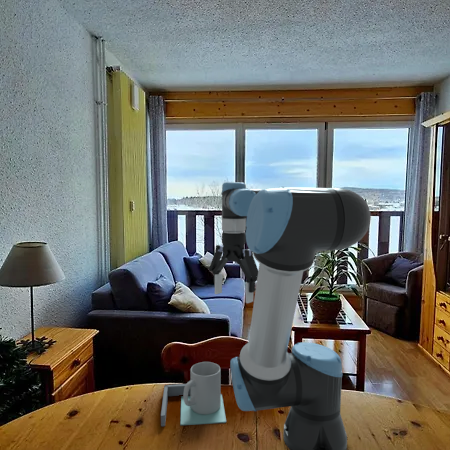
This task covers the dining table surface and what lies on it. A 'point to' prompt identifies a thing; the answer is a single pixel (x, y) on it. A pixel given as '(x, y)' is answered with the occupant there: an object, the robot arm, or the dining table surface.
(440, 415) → the dining table surface
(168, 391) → the gray corner wall
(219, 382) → the mug
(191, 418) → the mat
